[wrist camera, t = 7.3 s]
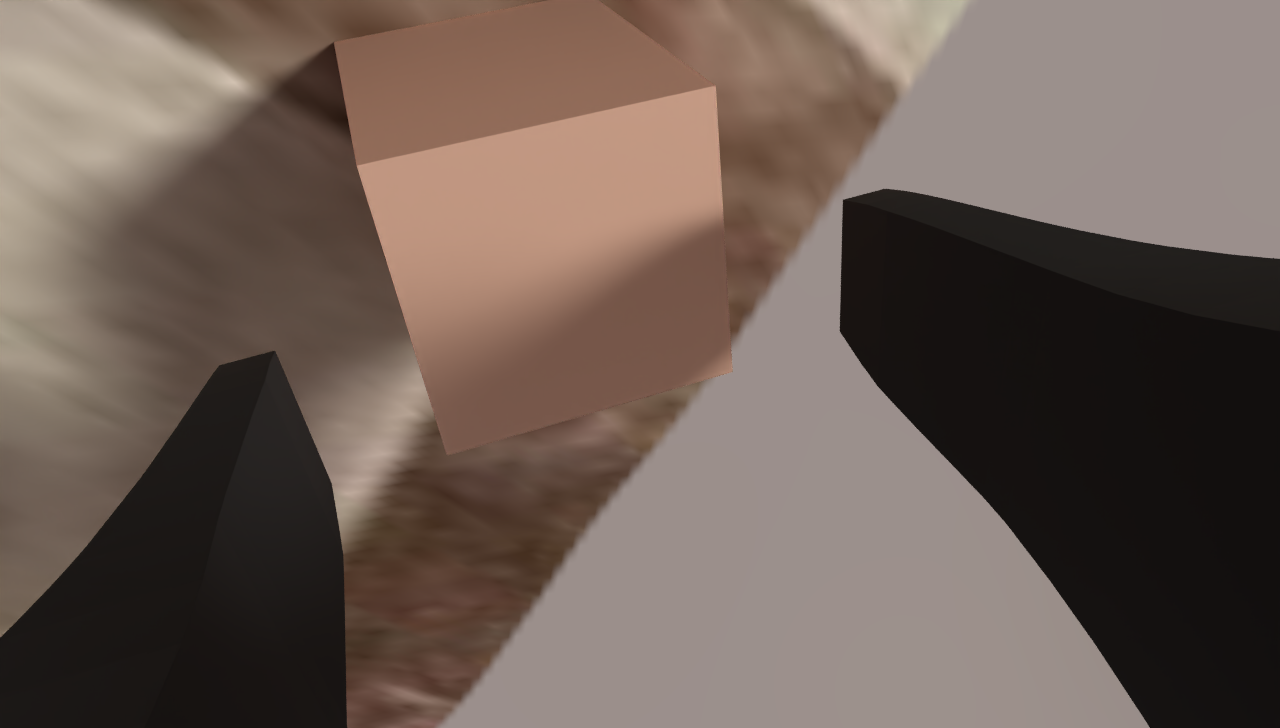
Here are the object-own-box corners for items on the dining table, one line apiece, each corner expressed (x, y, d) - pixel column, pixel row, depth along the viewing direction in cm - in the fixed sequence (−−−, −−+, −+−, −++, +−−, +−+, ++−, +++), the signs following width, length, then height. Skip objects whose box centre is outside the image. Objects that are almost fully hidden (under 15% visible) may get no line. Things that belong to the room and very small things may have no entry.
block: (618, 218, 19) (732, 372, 14) (403, 271, 18) (446, 455, 13) (587, -9, 16) (715, 85, 11) (333, 42, 15) (356, 165, 10)
